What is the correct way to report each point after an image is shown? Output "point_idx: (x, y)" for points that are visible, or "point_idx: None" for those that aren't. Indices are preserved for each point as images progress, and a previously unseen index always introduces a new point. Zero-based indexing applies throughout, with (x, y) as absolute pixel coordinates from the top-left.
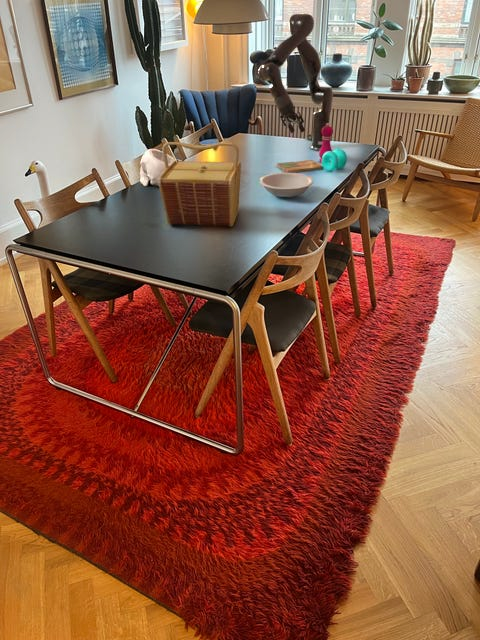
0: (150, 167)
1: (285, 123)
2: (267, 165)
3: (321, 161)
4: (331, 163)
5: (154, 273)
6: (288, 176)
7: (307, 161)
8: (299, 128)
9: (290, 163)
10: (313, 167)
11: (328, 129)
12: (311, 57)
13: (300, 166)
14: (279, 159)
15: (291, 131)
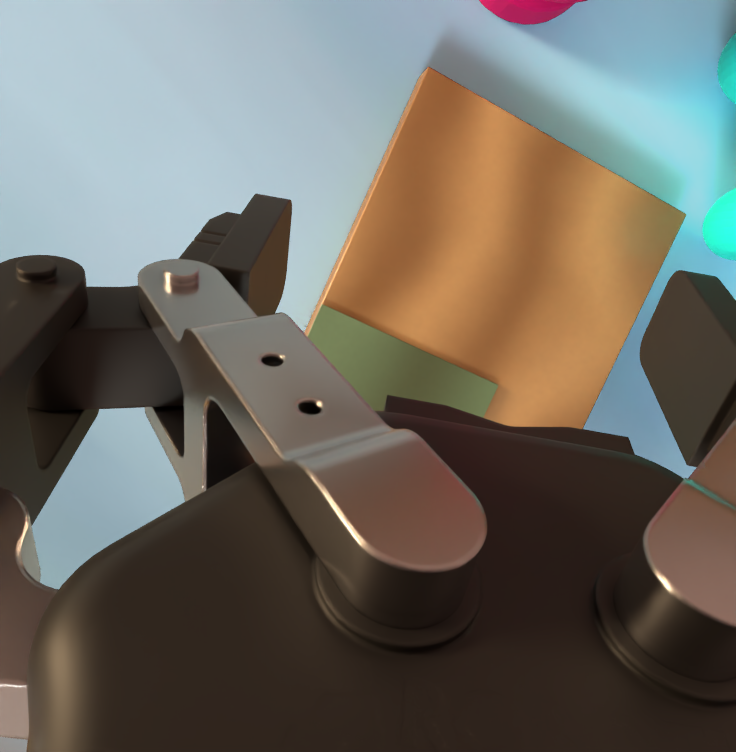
0: None
1: (57, 398)
2: (118, 528)
3: (530, 17)
4: (732, 99)
5: None
6: None
7: (435, 167)
8: (679, 427)
9: (355, 387)
10: (630, 316)
11: None
12: None
13: (505, 384)
14: (10, 233)
15: (276, 302)
